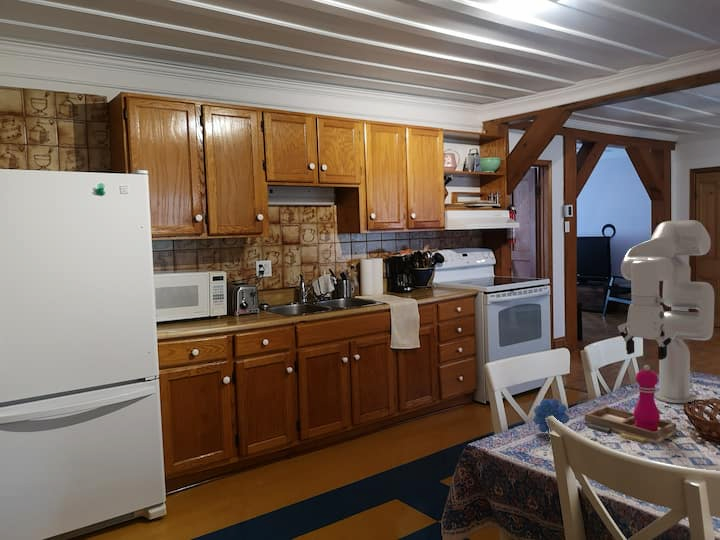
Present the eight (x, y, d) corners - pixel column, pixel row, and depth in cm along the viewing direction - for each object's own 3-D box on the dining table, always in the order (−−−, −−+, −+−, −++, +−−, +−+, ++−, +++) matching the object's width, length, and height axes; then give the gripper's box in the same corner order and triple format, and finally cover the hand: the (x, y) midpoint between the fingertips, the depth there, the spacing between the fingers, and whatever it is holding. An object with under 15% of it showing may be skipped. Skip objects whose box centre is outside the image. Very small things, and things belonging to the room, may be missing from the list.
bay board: (605, 414, 191) (605, 405, 191) (676, 433, 173) (676, 423, 172) (580, 425, 183) (580, 416, 183) (651, 445, 164) (651, 435, 164)
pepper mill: (658, 435, 169) (659, 369, 168) (632, 431, 173) (632, 366, 171) (660, 427, 175) (661, 363, 174) (634, 423, 179) (635, 361, 178)
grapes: (575, 435, 174) (575, 397, 173) (565, 442, 170) (564, 403, 169) (541, 427, 183) (540, 390, 182) (530, 433, 178) (529, 395, 177)
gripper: (681, 301, 166) (681, 358, 168) (624, 296, 180) (625, 349, 182) (668, 305, 162) (669, 363, 163) (611, 299, 176) (612, 353, 177)
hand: (646, 356), depth 173 cm, fingers open, 9 cm apart
